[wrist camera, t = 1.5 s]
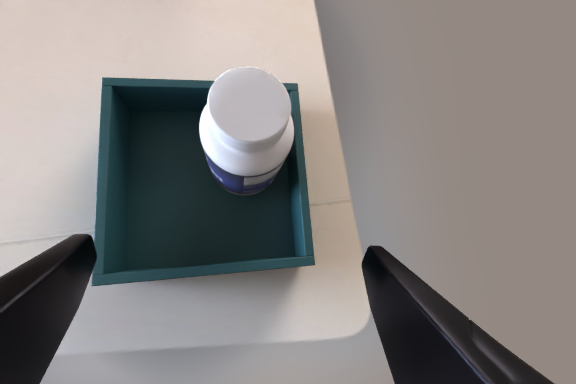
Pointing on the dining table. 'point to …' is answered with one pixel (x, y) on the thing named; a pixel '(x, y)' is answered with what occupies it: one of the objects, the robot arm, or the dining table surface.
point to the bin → (186, 192)
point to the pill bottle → (246, 129)
